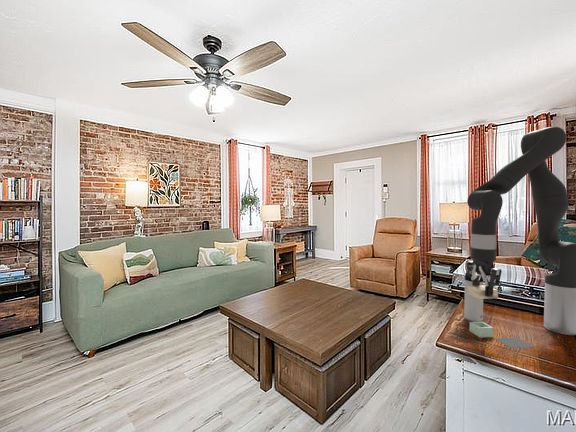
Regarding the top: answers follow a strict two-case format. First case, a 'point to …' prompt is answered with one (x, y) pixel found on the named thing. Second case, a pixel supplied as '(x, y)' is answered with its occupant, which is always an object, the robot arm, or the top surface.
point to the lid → (480, 292)
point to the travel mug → (472, 303)
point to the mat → (514, 342)
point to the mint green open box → (481, 329)
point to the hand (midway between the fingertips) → (482, 293)
